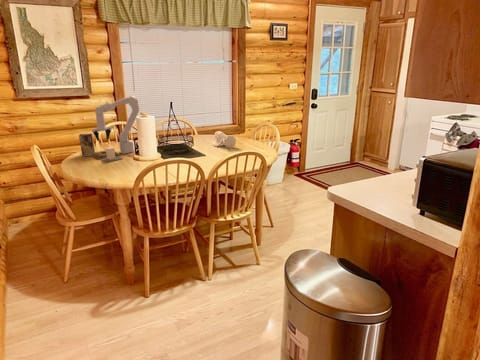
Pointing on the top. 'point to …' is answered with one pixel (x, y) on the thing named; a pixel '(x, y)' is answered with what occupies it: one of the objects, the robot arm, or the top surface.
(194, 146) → the top surface
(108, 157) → the cream block
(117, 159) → the slate mat
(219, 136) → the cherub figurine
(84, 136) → the coffee box
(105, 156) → the walnut square frame
